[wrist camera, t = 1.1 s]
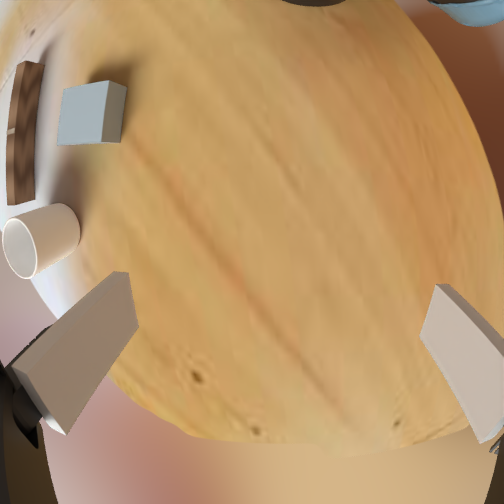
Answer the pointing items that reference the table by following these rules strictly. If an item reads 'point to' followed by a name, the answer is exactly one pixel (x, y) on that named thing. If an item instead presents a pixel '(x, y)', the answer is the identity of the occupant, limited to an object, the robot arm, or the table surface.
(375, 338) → the table surface
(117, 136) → the block
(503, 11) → the robot arm
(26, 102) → the board
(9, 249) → the mug
